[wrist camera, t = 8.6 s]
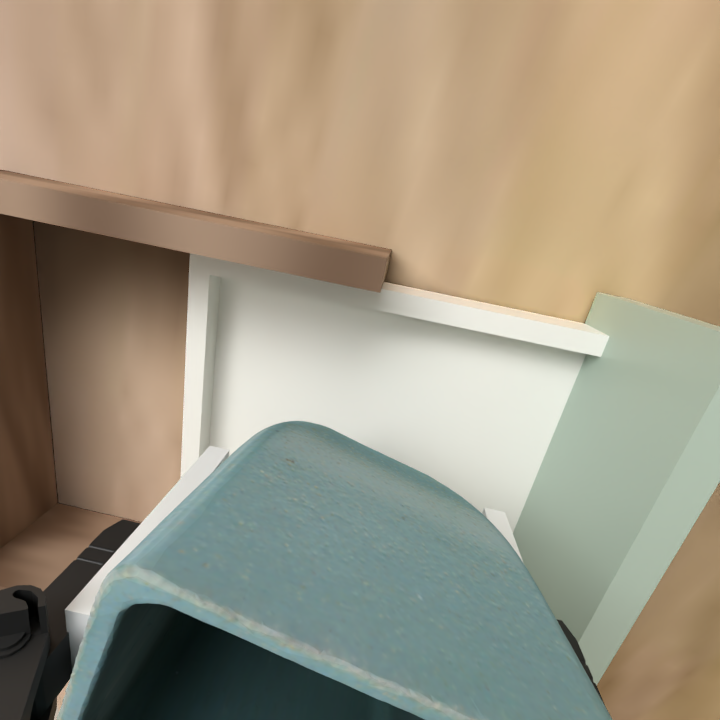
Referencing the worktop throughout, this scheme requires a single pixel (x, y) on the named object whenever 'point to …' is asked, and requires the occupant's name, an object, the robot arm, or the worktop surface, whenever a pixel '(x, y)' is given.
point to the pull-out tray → (482, 415)
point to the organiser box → (26, 349)
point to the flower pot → (324, 602)
